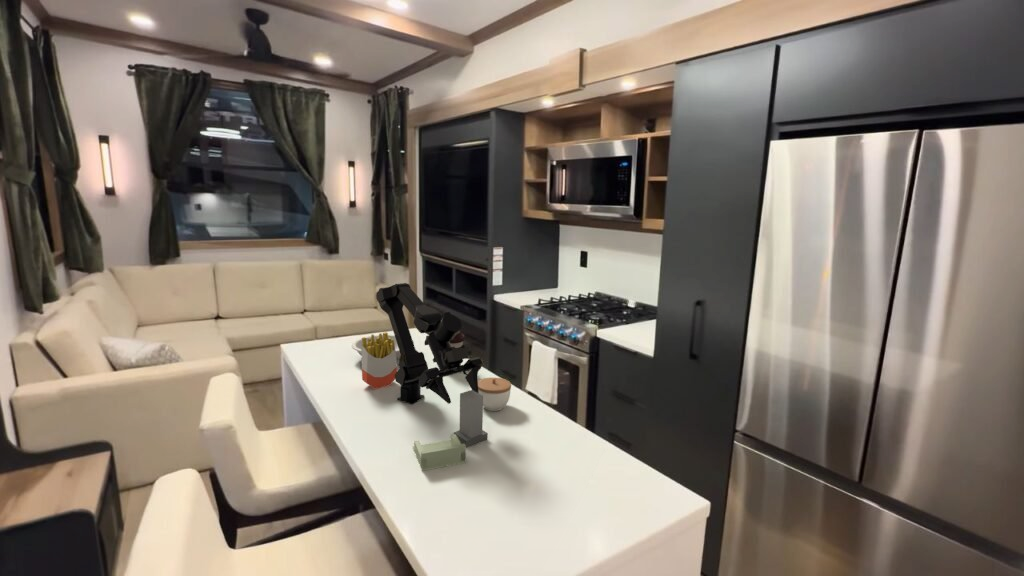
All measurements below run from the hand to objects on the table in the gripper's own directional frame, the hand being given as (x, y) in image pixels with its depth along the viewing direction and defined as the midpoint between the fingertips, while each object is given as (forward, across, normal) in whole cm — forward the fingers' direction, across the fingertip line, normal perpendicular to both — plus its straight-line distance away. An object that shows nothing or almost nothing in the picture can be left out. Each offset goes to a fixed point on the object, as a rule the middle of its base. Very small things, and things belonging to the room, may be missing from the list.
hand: (464, 398), depth 129 cm
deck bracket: (+11, -11, +4) cm, 16 cm away
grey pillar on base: (+10, 0, +5) cm, 11 cm away
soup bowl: (-43, +10, +57) cm, 72 cm away
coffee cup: (-24, +25, +38) cm, 52 cm away
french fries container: (-25, -3, +40) cm, 47 cm away
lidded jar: (+1, +18, +14) cm, 23 cm away
